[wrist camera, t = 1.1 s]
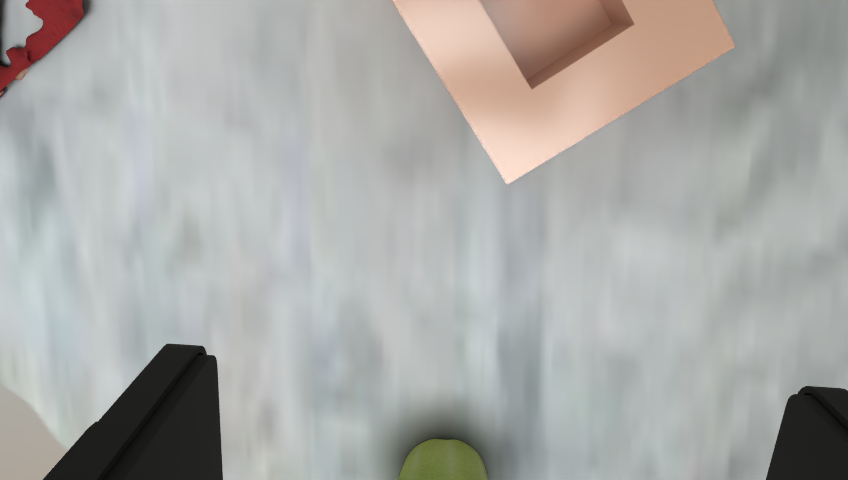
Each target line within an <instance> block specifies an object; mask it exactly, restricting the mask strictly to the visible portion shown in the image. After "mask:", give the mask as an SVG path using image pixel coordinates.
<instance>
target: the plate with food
mask: <svg viewBox="0 0 848 480" xmlns="http://www.w3.org/2000/svg"><path fill="white" fill-rule="evenodd" d="M82 2H83V0H29V2H27V3H26V4H25V6H26V7H27V8H29V9H30V10H32V11H33V14H34V15H36V16H38V17H39V18H41V19H42V20H43V26H42V28H41V29H40V30H39V31H37V32H36V33H33V34H31V35H30V36H28V37H27V38H26V45H25V47H24V48H22V49H19V48H15V47H12V48H10V49H8V50H7V51H6V54H7V56H8V57H9V59H10V62H11V64H10V66H9V67H4V66H1V65H0V97H1V96H2V94H3V92H4V91H3V90H2V89H3V88H4V87H6V86H8V85H9V83H10V82H12V81H13V80H14V79H17V80H22V79H23V77H24V76H25V74H26V73H27V72H28V70H29V69H28V67H29V66H30V65H32V64H33V63H35V62H36V61H37V60H39V59H41V58H42V57H43V56H44V55H45V54H46V53H47V52H48V51H49V50H50V49H51V48H52V47H53V46H55V45H56V43H57V42H59V41H60V40H61V39H62V38H63V37H64V36H65V35H66V34H68V33H69V31H71V29H72V28H73V27H74V26H75V25H76V24H77V21H78V20H80V19H81V18H82V17H83V7H82Z"/></svg>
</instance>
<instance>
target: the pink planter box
mask: <svg viewBox="0 0 848 480" xmlns="http://www.w3.org/2000/svg"><path fill="white" fill-rule="evenodd" d="M392 2H393V3H394V5H395V6H396V8H397V10H398V11H399V13H400V14H401V16H402V17H403V19H404V21H405V22H406V24H407V25H408V27H409V29H410V30H411V32H412V33H413V35H414V37H415V38H416V40H417V41H418V43H419V45H420V46H421V48H422V49H423V51H424V53H425V54H426V56H427V57H428V59H429V61H430V62H431V64H432V65H433V67H434V69H435V70H436V72H437V73H438V75H439V77H440V78H441V80H442V81H443V83H444V85H445V86H446V88H447V89H448V91H449V93H450V94H451V96H452V97H453V99H454V101H455V102H456V104H457V105H458V107H459V109H460V110H461V112H462V113H463V115H464V117H465V118H466V120H467V121H468V123H469V125H470V126H471V128H472V129H473V131H474V133H475V134H476V136H477V137H478V139H479V141H480V142H481V144H482V145H483V147H484V149H485V150H486V152H487V153H488V155H489V156H490V158H491V160H492V161H493V163H494V164H495V166H496V168H497V169H498V171H499V172H500V174H501V176H502V177H503V179H504V180H505V182H506V184H509V183H511V182H512V181H514V180H516V179H517V178H519V177H521V176H522V175H524V174H526V173H527V172H529V171H531V170H532V169H534V168H536V167H537V166H539V165H541V164H542V163H544V162H545V161H547V160H549V159H550V158H552V157H554V156H555V155H557V154H559V153H560V152H562V151H564V150H565V149H567V148H569V147H570V146H572V145H574V144H575V143H577V142H579V141H580V140H582V139H584V138H585V137H587V136H589V135H590V134H592V133H593V132H595V131H597V130H598V129H600V128H602V127H603V126H605V125H607V124H608V123H610V122H612V121H613V120H615V119H617V118H618V117H620V116H622V115H623V114H625V113H627V112H628V111H630V110H632V109H633V108H635V107H636V106H638V105H640V104H641V103H643V102H645V101H646V100H648V99H650V98H651V97H653V96H655V95H656V94H658V93H660V92H661V91H663V90H665V89H666V88H668V87H670V86H671V85H673V84H675V83H676V82H678V81H679V80H681V79H683V78H684V77H686V76H688V75H689V74H691V73H693V72H694V71H696V70H698V69H699V68H701V67H703V66H704V65H706V64H708V63H709V62H711V61H713V60H714V59H716V58H718V57H719V56H721V55H722V54H724V53H726V52H727V51H729V50H731V49H732V48H734V47H736V46H735V44H734V42H733V40H732V38H731V36H730V34H729V32H728V30H727V28H726V26H725V24H724V22H723V20H722V18H721V16H720V14H719V12H718V10H717V8H716V6H715V4H714V2H713V0H392Z"/></svg>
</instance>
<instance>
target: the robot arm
mask: <svg viewBox="0 0 848 480" xmlns="http://www.w3.org/2000/svg"><path fill="white" fill-rule="evenodd" d="M43 480H223V474H222V454H221V433H220V413H219V392H218V372H217V360H216V357H215V356H214V355H207V354H206V350H205V348H204V347H203V346H196V345H181V344H166V345H165V346H164V347H163V348H162V349H161V350H160V351H159V352H158V354H157V355H156V356H155V357H154V358H153V359H152V360H151V362H150V363H149V364H148V365H147V366H146V367H145V368H144V370H143V371H142V372H141V373H140V374H139V375H138V376H137V378H136V379H135V380H134V381H133V382H132V383H131V384H130V386H129V387H128V388H127V389H126V390H125V391H124V392H123V394H122V395H121V396H120V397H119V398H118V399H117V400H116V402H115V403H114V404H113V405H112V406H111V407H110V408H109V410H108V411H107V412H106V413H105V414H104V415H103V416H102V418H101V419H100V420H99V421H98V422H95V423H94V424H93V425H91V426H90V427H89V428H88V429H87V430H86V431H85V433H84V434H83V435H82V436H81V437H80V438H79V439H78V440H77V442H76V443H75V444H74V445H73V446H72V447H71V448H70V449H69V451H68V452H67V453H66V454H65V455H64V456H63V457H62V459H61V460H60V461H59V462H58V463H57V464H56V465H55V467H54V468H53V469H52V470H51V471H50V472H49V473H48V474H47V476H46V477H45V478H44V479H43ZM766 480H848V391H847V390H845V389H841V388H828V387H813V386H805V387H803V388H802V389H801V390H800V391H799V392H798V394H794V395H791V396H790V398H789V399H788V401H787V404H786V408H785V411H784V415H783V419H782V422H781V426H780V430H779V433H778V437H777V441H776V444H775V448H774V452H773V455H772V459H771V463H770V467H769V470H768V474H767V478H766Z"/></svg>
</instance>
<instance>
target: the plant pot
mask: <svg viewBox="0 0 848 480" xmlns="http://www.w3.org/2000/svg"><path fill="white" fill-rule="evenodd" d="M398 480H488V477H487V473H486V469H485V466H484V463H483V461H482V459H481V457H480V456H479V454H478V453H477V452H476V451H475V450H474V449H473V448H472V447H470V446H469V445H467V444H466V443H464V442H462V441H459V440H456V439H451V440H442V439H430V440H427V441H424V442H422V443H420V444H419V445H417V446H416V447H415V448H414V449H413V450H412V451H411V452H410V453H409V454H408V456H407V458H406V460H405V462H404V465H403V467H402V470H401V473H400V476H399V478H398Z"/></svg>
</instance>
